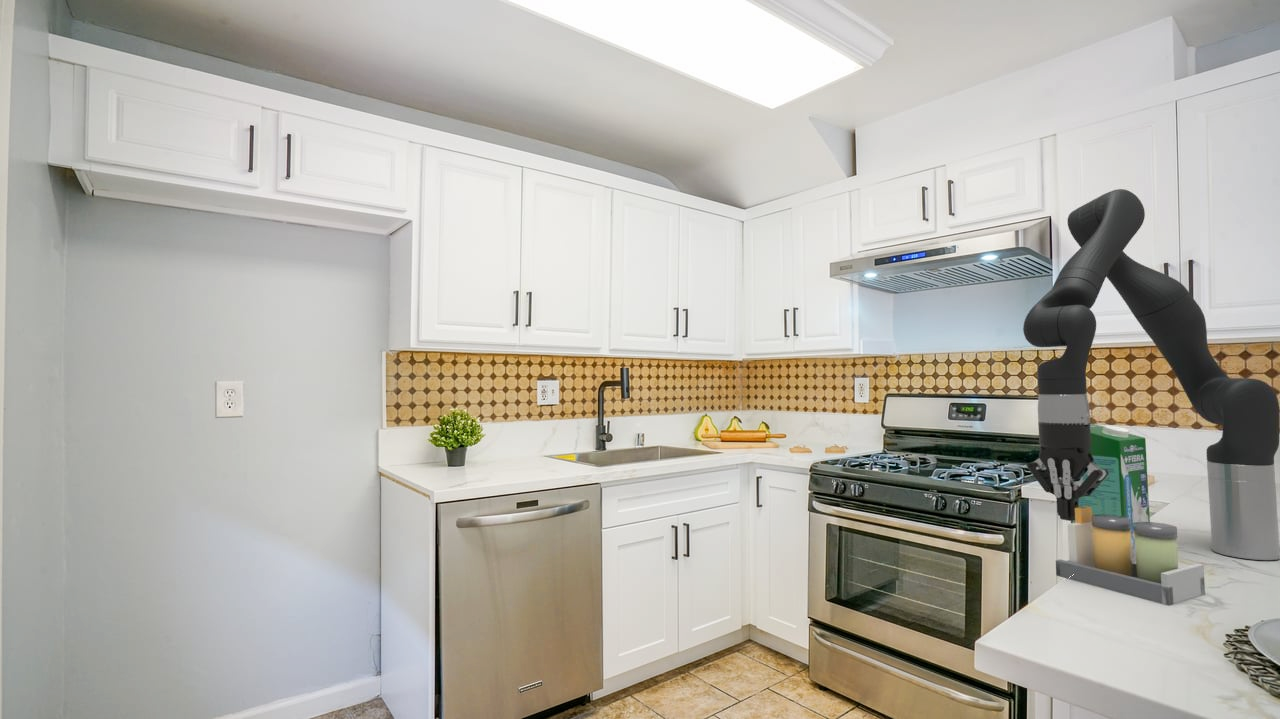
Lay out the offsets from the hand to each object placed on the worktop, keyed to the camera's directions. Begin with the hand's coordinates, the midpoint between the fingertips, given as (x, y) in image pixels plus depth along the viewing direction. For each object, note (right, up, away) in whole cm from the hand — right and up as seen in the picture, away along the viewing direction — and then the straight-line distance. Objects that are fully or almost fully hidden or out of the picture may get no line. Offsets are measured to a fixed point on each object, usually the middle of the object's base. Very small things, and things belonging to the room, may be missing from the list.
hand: (1068, 519), depth 108 cm
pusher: (+1, -8, -3) cm, 9 cm away
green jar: (+6, -8, -12) cm, 16 cm away
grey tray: (+4, -9, -9) cm, 13 cm away
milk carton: (+14, -10, +8) cm, 19 cm away
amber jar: (+3, -8, -6) cm, 11 cm away
